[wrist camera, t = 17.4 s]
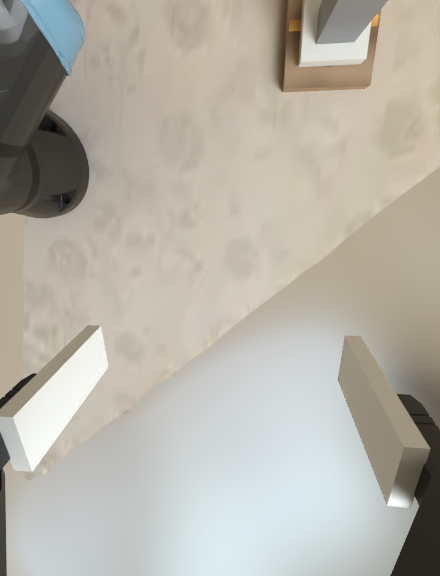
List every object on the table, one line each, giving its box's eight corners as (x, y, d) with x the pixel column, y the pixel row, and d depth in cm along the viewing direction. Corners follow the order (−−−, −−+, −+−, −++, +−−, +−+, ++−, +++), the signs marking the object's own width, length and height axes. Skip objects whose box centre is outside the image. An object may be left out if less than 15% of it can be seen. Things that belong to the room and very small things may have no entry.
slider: (360, 64, 35) (423, 3, 22) (298, 67, 35) (323, 10, 22) (369, -4, 32) (445, -116, 19) (302, 1, 33) (333, -104, 20)
